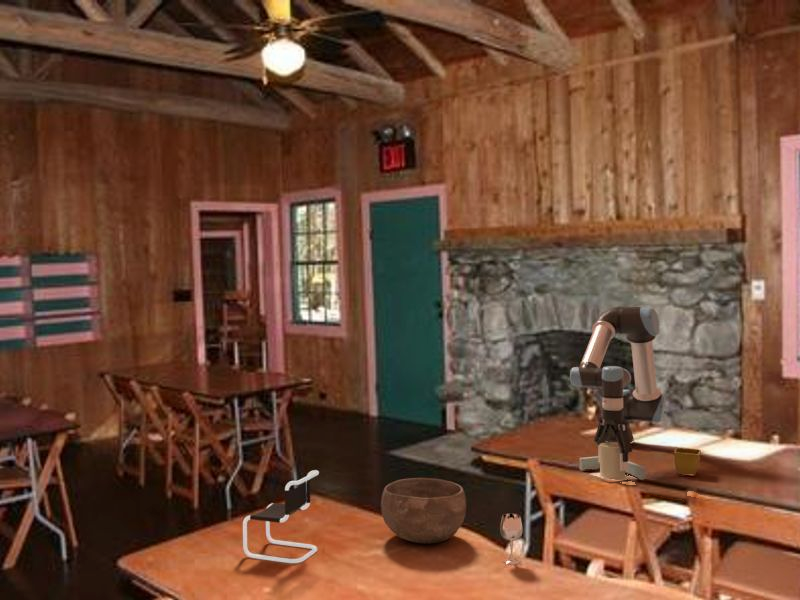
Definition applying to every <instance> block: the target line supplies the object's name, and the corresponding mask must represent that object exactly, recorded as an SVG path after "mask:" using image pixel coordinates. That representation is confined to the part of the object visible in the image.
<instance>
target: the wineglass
mask: <svg viewBox="0 0 800 600" xmlns="http://www.w3.org/2000/svg"><path fill="white" fill-rule="evenodd" d="M499 528H500V534H501V536H502V538H503V539H505V540H506V541H509V548H510V549H509V550H510V556H509V557H508V558H504V559H503V560H502V562H503V563H504V564H507V565H518V564H520V563H521V560H520V559H519V558H514V556H513V548H514V542H513V541H517V540H519V539H520V538H521V537H522V534H523V521H522V517H521V516H520V515H519V514H517V513H505V514H502V516H501V521H500V526H499Z"/></svg>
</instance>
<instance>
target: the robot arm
mask: <svg viewBox="0 0 800 600" xmlns="http://www.w3.org/2000/svg"><path fill="white" fill-rule="evenodd" d="M659 331H660V321H659V316H658V314H657V311H656V310H655V309H654V308H653V307H651V306H650V307H649V306H648V307H647V306H615V307H611V308H608V309H606V310H605V311H603V312H602V313H601V314H600V315H599V316H598V317H597V318H596V319H595V320H594V322H593V325H592V328H591V332H592V334H591V336H590V339H589V341H588V344H587V347H586V350H585V352H584V355H583V357H582V359H581V362H580V365H579V366H575V367H574V366H573V367H572V368H571V369H570V371H569V381H570V384H571V386H573V387H580V388H593V389H594V388H596V389H597V388H598V389H601V399H602V400H601V403H602V404H601V407H602V409H601V418H599V420H598V426H597V429H596V433H595V436H594V439H593V442H594V443H596V444H597V453H598V454H597V456H598V462H599V463H600V444H601V443H605V441H608V442H618V445H619V447H620V449H621V452H620V471H626V470H628V461H629V453H632V452H633V447H632V445H631V443H630V442H632V441H634V442H635V438H634V434H633V431H632V428H631V425H630V422H631V421H637V422H650V423H659V422H661V421H662V420H663V418H664V414H665V408H666V396H665V395H663V394H662V392H661V389H660V388H658V387H657V377H656V369H655V358H654V346H653V341H654V340H655V339H656V336H658V334H659V333H660V332H659ZM615 335H625V337H626V340H627V342H629V343H630V346H631V347H630V348H631V356H632V364H633V375H634V386H635V389H634V390H633V391H632V393H631V391H630V389H625V388H627V387H628V386H630V384H631V381H632V375H631V373H630V372H629V371H628V370H627V369H625V368H623V367H622V366H616V365H615V366H613V365H610V366H609V365H607V366H603V367H602V368H601V366H602V362H603V361H604V358H605V356H606V352H607V350H608V348H609V345H610V343H611V340H612V339H613V338H614V337H615Z"/></svg>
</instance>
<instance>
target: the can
mask: <svg viewBox="0 0 800 600" xmlns="http://www.w3.org/2000/svg"><path fill="white" fill-rule="evenodd" d="M620 452H621V449H620V447H619V445H618V443H615V442H605V443H601V444H600V469H599V473H600V476H601V477H604V478H609V479H622V478H625V477H626V475H625V471H620Z"/></svg>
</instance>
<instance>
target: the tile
mask: <svg viewBox="0 0 800 600" xmlns="http://www.w3.org/2000/svg"><path fill="white" fill-rule="evenodd" d="M588 475H589V476H590V475H593V476H597V477H601V476H600V472H592V473H589V474H588ZM601 478H604V477H601ZM627 479H636V480H637V478H635V477H633V476H630V475H629V476H626V477H625V478H622V479H615V480H627Z"/></svg>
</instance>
